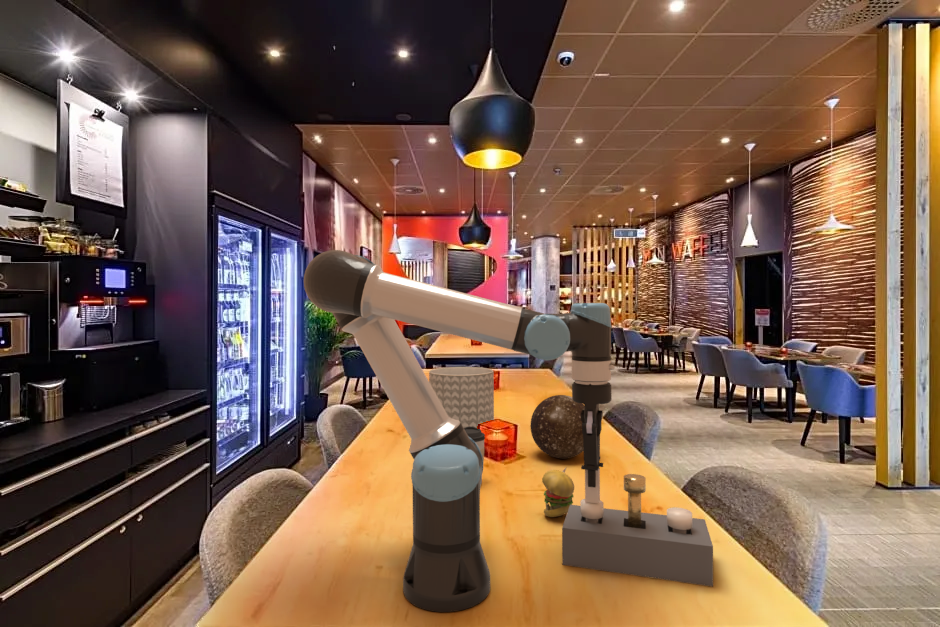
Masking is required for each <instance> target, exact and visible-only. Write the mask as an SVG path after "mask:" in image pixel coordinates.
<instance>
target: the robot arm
mask: <svg viewBox="0 0 940 627" xmlns="http://www.w3.org/2000/svg"><path fill="white" fill-rule="evenodd" d="M303 289H304V291H305V294H306V296H307V298H308V299H309V300H310V301H311V303H312V304H313V305H315V306H316V307H317V308H318V309H320V310H322V311H325V312H328V313H332V315H333V317H334V318H335V320H336V322H337V324H338V327H340V329H341V331H342V332H345V333H349V334H351V335H353V337H354V338H355V340H356V342H357V344H358V345H359V347H360V350H362V351H361V352H362V353H363V354H364V356H365V358H366V360H367V362H368V364H369V365H370V368H371V369H372V371H373V372H374V374H375V377H376V378H377V380H378V381H379V383H380V386H381V387H382V388H383V391H384V392H385V395H386V396H387V398H388V399H389V402H390V403H391V405H392V407H393V409H394V411H395V413H396V414H397V416H398V418H399V419H400V421H401V423H402V425H403V427H404V429H405V430H406V432H407V433H408V436H409V438H410V439H411V441H410V445H409V448H408V452H409V453H410V456H411V457H412V458H413V461H412V469H411V474H410V475H411V476H410V478H411V479H410V480H411V484H412V485H411V486H412V547H411V551H410V553H409V556H408V560H407V563H406V565H405V570H404V572H403V577H402V586H403V588H402V589H403V591H402V592H403V595H404V597H405V599H406V601H408V602H409V603H411V604H412V605H414V606H416V607H417V608H420V609H423V610H426V611H430V612H438V613H450V612H451V613H452V612H458V611H459V612H460V611H463V610H467V609H469V608H473V607H475V606H477V605H478V604H480V603H482V602H483V601H484V600H485V599H486V598H487V596H489V594H490V591H491V572H490V569H489V566H488V563H487V559H486V557H485V553H484V551H483V548H482V545H481V532H480V531H481V526H480V525H481V521H480V520H481V516H480V515H481V512H480V510H481V507H480V501H481V500H480V499H481V498H480V496H481V486H482V484H481V479H482V480H483V472H484V462H483V459H482V458H483V457H482V454H481V451H480V449H479V447H478V445H477V444H476V443H475V442H474V440H472V439H471V438H470V437H469V436H468V435H467V433H466V431H465V430H464V428H463V426H462V424H461V423H460V421H459V420H455V419H452V418H450V417H448V415H447V413H446V411H445V409H444V408H443V406H442V404H441V402H440V400H439V399H438V397H437V395H436V393H435V392H434V390H433V388H432V386H431V384H430V383H429V378H428V377H427V376H426V374H425V372H424V370H423V369H422V367H421V365H420V363H419V361H418V359H417V358H416V356H415V354H414V352H413V350H412V348H411V346H410V345H409V343H408V341H407V340H406V338H405V335H404V334H403V332H402V330H401V329H400V328H399V326H398V324H397V322H396V321H399V322H402V323H406V324H410V325H414V326H417V327H418V326H419V327H422V328H427V329H430V330H434V331H438V332H442V333H446V334H449V335H453V336H458V337H462V338H465V339H469V340H473V341H477V342H480V343H484V344H489V345H492V346H495V347H500V348H504V349H507V350H512V351H513V352H518V353H523V354H524V355H525V354H526V355H529V356H532V357H534V358H535V359H537V360H542V361H554V360H556V359H559V358H560V357H562V356H563V355H564V354H565V353H567V352H568V353H569V352H571V380H573V381H574V382H573V383H572V384H571V390H572V391H571V397H572V399H573V401H575V402H577V403H583V404H584V405H585V407H584V410H583V409H582V412H581V421H582V434H583V447H584V451H583V464H581V467H580V468H581V470H584V490H585V491H584V499H585V502H590V503H600V500H601V481H600V480H601V477H600V475H601V470H600V468H603V467H604V462H600V461H601V432H602V420H603V416H604V415H603V413H604V412H603V411H604V410H602V409H601V410H600V405H606V404H609V403H611V402H612V384H611V382H609V381H611V380H612V371H615V366H614V365H613V364H611V363H612V361H611V360H612V328H613V326H612V320H611V319H612V317H611V308H610V306H609V305H608V304H607V303H604V302H587V303H583V302H581V303H579V302H578V303H572V305H571V309H570V312H567V313H566V312H565V313H543V312H540V311H537V310H536V311H535V310H533V309H527V308H523V307H521V306H520V307H519V306H516V305H512V304H508V303H506V302H505V303H504V302H500V301H497V300H493V299H488V298H484V297H481V296H478V295H473V294H470V293H466V292H462V291H458V290H454V289H450V288H445V287H443V286H439V285H434V284H430V283H427V282H423V281H419V280H414V279H411V278H408V277H403V276H399V275H396V274H391V273H389V272H384V271H383V269H382V267H381V265H379V264H376V263H374V262H373V261H371V260H370V259H369V258H367V257H364V256H362V255H358V254H354V253H351V252H348V251H344V250H342V249H341V250H340V249H331V250H327V251H323V252H322V253H319V254H318V255H316V256H315V257H314V258H312V260H311V261H309V263H308V264H307V267H306V268H305V271H304V274H303Z"/></svg>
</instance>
